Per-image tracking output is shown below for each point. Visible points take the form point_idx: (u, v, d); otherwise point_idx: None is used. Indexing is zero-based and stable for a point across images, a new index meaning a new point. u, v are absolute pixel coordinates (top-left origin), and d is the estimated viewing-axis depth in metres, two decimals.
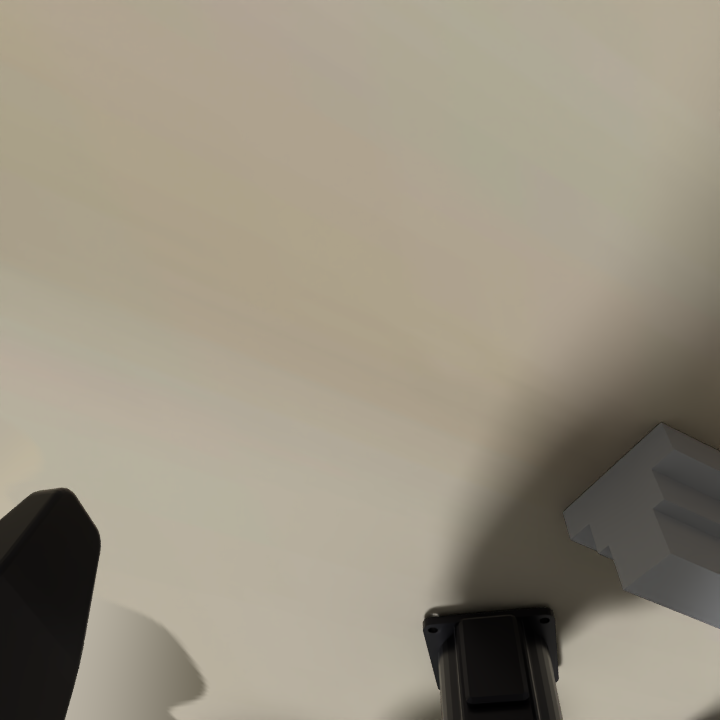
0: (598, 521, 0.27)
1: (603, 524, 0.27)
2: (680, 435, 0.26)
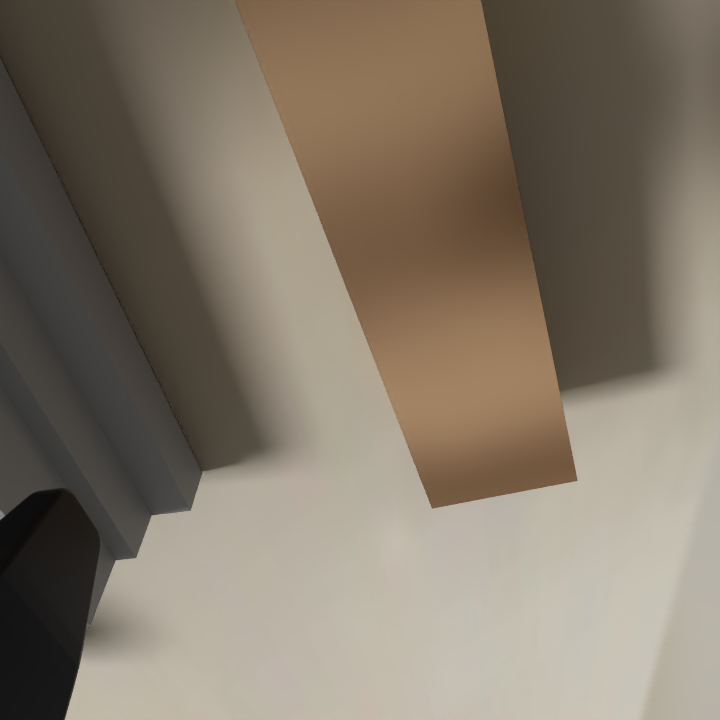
0: None
1: None
2: None
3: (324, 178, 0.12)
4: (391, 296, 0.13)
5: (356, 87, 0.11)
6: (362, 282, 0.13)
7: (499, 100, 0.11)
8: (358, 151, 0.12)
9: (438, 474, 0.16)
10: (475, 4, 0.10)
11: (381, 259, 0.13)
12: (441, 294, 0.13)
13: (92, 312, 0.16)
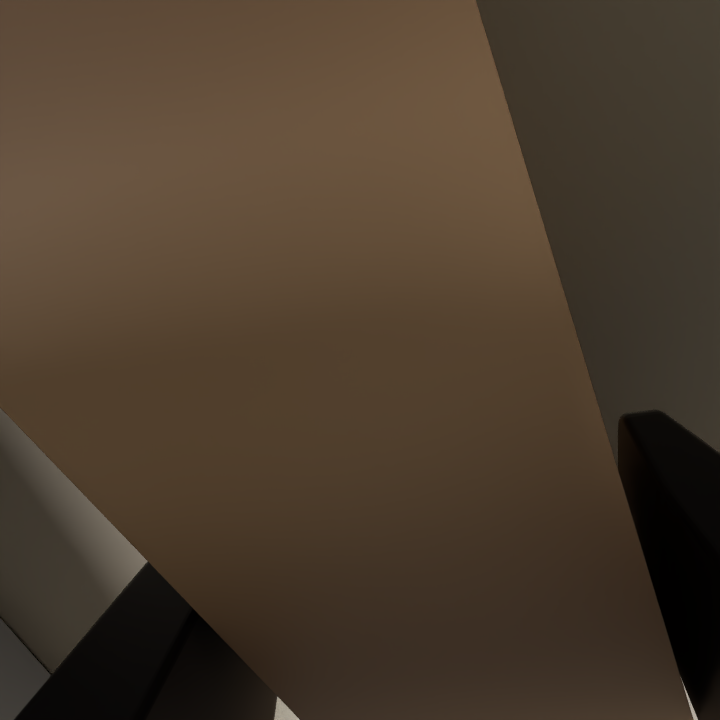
0: None
1: None
2: None
3: (216, 586, 0.05)
4: None
5: (250, 442, 0.04)
6: (328, 713, 0.07)
7: (606, 444, 0.04)
8: (279, 541, 0.05)
9: None
10: (535, 259, 0.04)
11: (364, 686, 0.06)
12: None
13: None
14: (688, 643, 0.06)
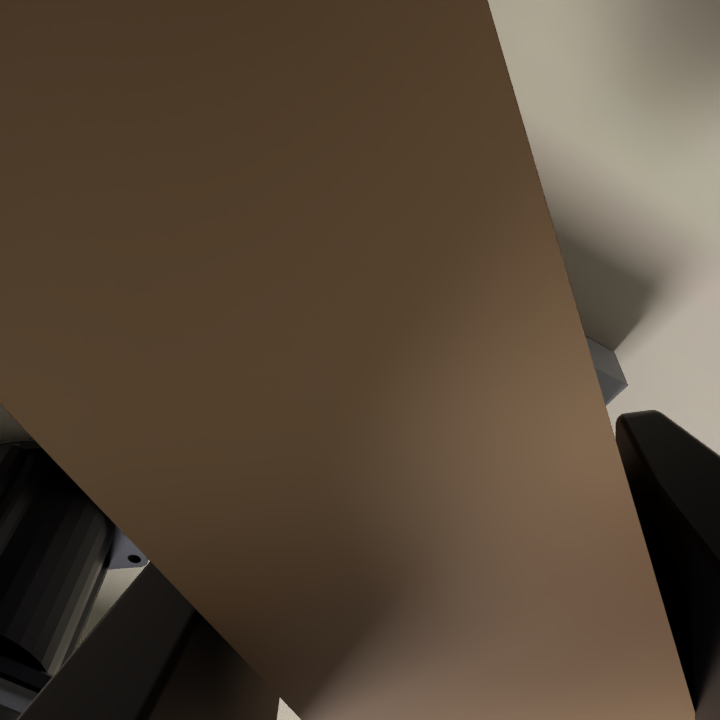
0: None
1: None
2: None
3: (218, 586, 0.05)
4: None
5: (253, 441, 0.04)
6: (332, 714, 0.07)
7: (612, 444, 0.04)
8: (281, 542, 0.05)
9: None
10: (543, 257, 0.04)
11: (366, 686, 0.06)
12: None
13: None
14: (685, 644, 0.06)
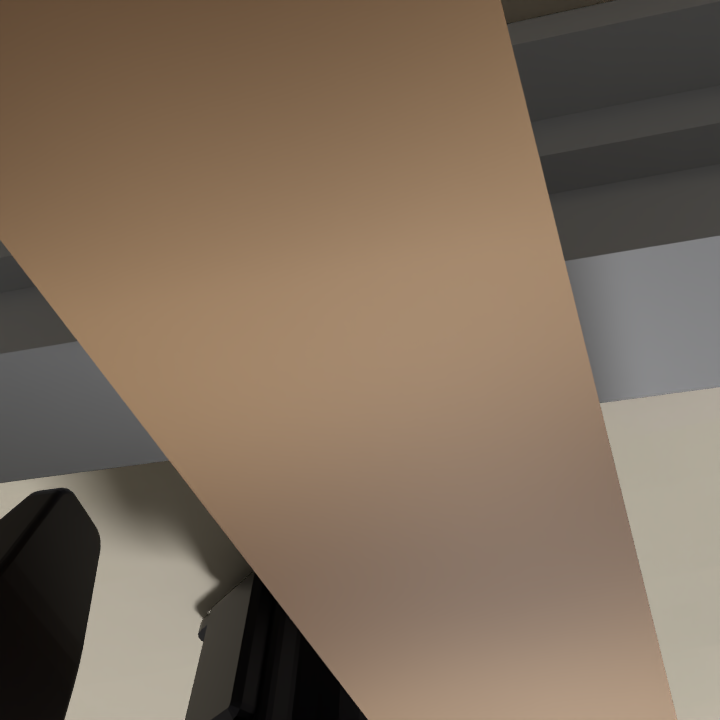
0: None
1: None
2: None
3: (240, 501, 0.06)
4: (387, 647, 0.07)
5: (281, 362, 0.05)
6: (332, 632, 0.07)
7: (589, 373, 0.05)
8: (299, 460, 0.06)
9: None
10: (535, 203, 0.04)
11: (365, 604, 0.07)
12: (477, 643, 0.07)
13: None
14: None
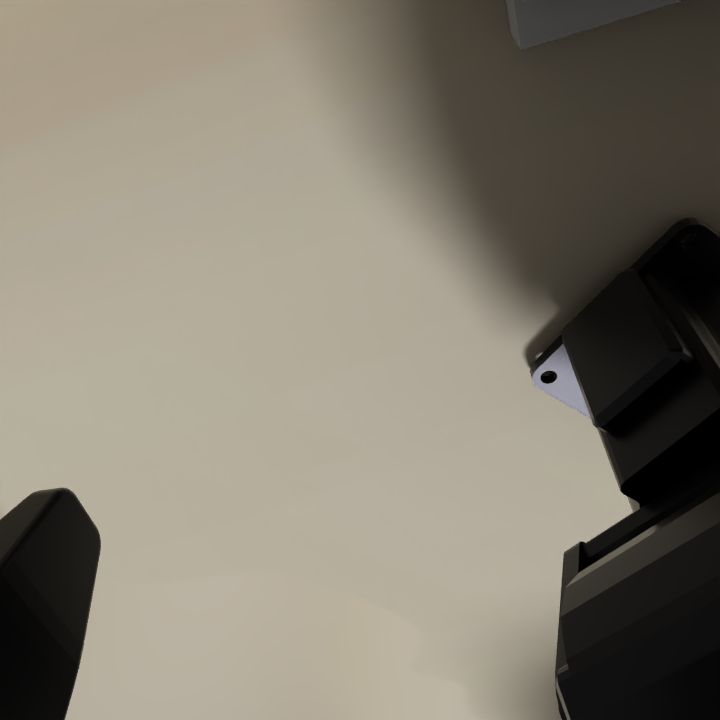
0: None
1: None
2: None
3: None
4: None
5: None
6: None
7: None
8: None
9: None
10: None
11: None
12: None
13: None
14: None
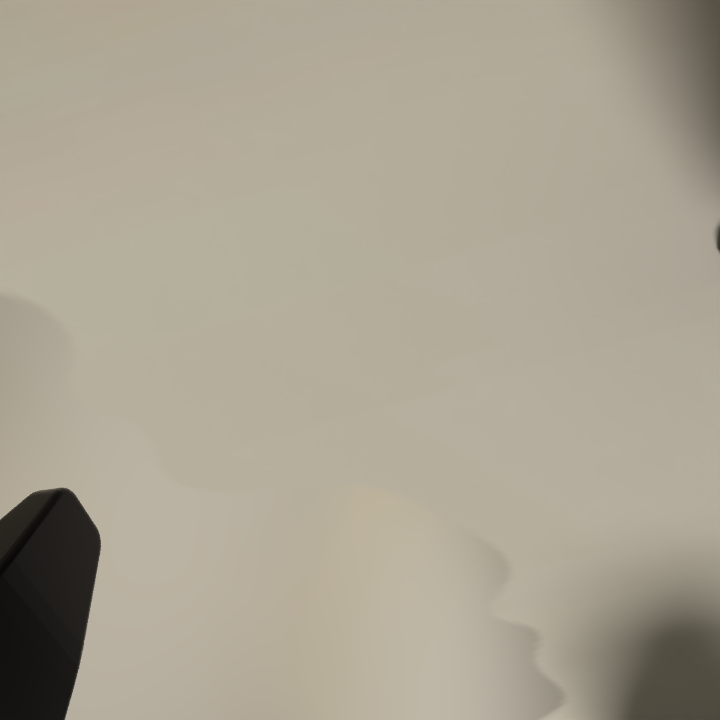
0: None
1: None
2: None
3: None
4: None
5: None
6: None
7: None
8: None
9: None
10: None
11: None
12: None
13: None
14: None
